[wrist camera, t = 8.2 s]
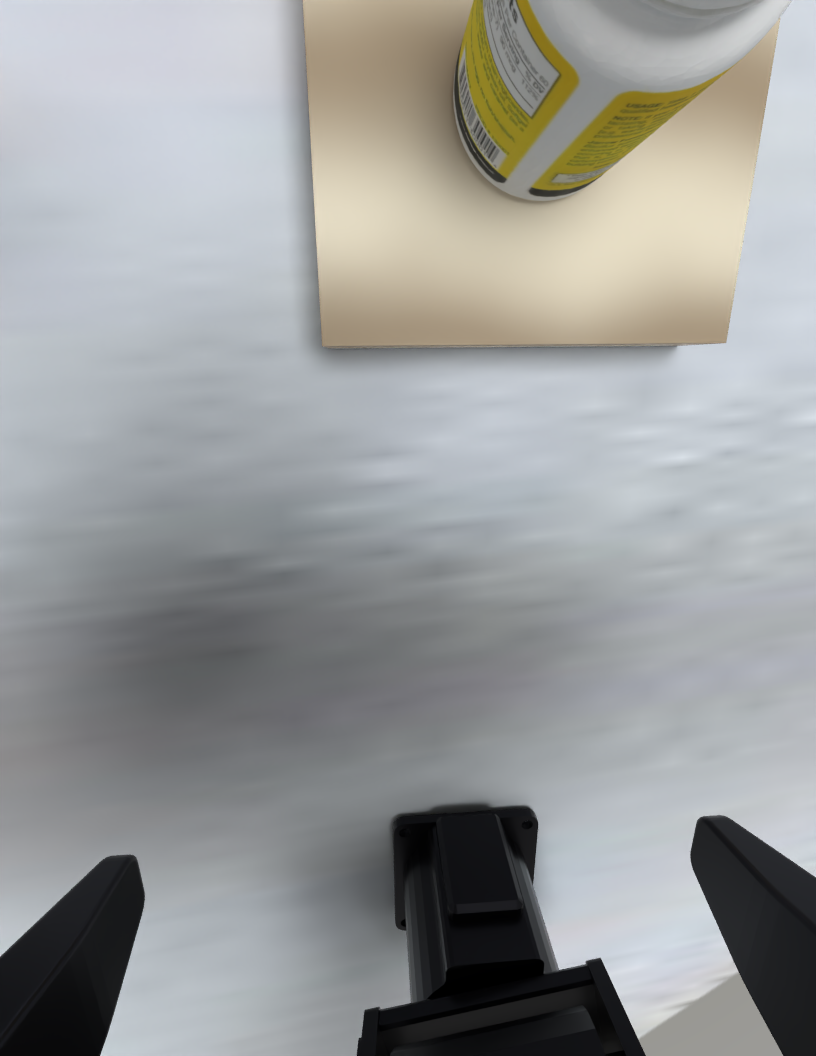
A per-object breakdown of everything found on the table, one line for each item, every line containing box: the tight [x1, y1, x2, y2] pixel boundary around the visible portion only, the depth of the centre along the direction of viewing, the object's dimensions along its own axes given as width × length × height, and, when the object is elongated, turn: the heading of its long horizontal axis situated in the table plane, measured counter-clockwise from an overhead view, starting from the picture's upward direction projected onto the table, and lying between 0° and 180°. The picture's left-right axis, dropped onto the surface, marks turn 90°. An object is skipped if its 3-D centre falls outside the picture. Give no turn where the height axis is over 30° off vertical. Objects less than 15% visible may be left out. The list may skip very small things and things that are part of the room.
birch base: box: [303, 0, 780, 348], centre depth 14 cm, size 12×12×2 cm
